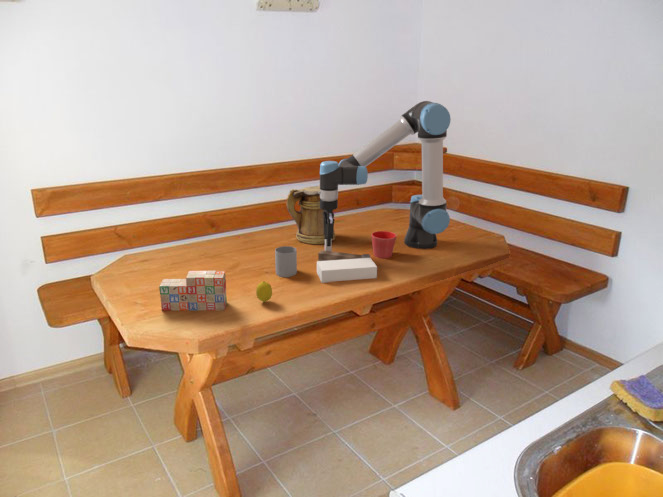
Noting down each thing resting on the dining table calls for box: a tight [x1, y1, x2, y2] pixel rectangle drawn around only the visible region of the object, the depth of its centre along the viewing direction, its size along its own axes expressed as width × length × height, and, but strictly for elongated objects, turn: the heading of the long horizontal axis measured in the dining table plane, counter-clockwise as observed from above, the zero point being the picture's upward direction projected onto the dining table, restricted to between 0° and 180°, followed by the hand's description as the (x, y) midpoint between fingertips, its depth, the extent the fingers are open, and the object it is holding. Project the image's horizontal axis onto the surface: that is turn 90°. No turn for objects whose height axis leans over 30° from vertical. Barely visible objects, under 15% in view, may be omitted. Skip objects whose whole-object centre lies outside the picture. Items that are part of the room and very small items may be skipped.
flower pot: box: [371, 230, 397, 259], centre depth 232 cm, size 11×11×10 cm
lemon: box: [255, 281, 273, 303], centre depth 187 cm, size 6×6×8 cm
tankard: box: [286, 185, 336, 245], centre depth 248 cm, size 18×24×25 cm
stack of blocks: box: [158, 270, 228, 311], centre depth 183 cm, size 21×6×12 cm, turn 93°
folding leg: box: [317, 249, 371, 261], centre depth 222 cm, size 22×4×5 cm, turn 72°
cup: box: [274, 245, 298, 278], centre depth 212 cm, size 8×8×10 cm
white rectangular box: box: [316, 257, 378, 284], centre depth 211 cm, size 22×10×5 cm, turn 102°
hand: (328, 252), depth 229 cm, fingers closed
